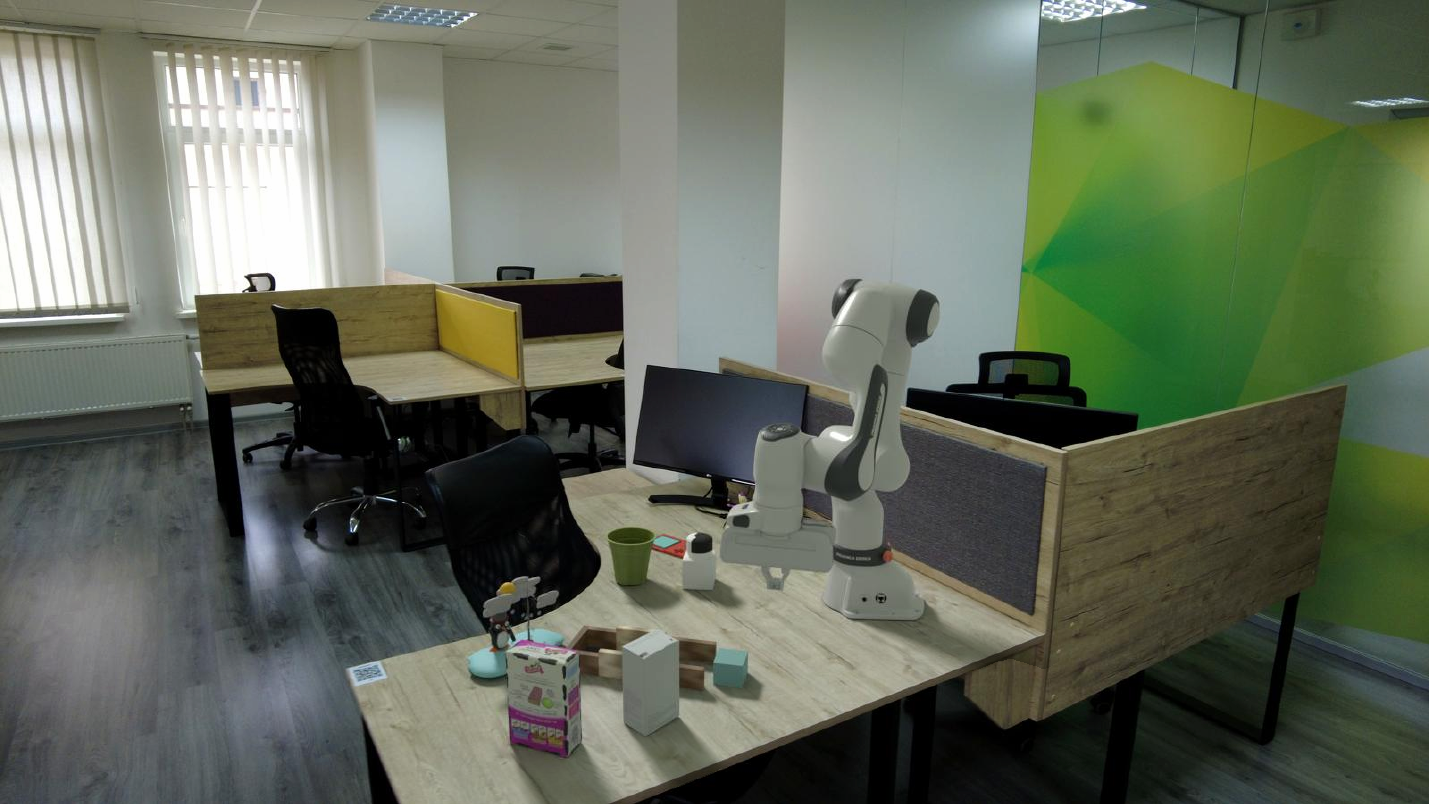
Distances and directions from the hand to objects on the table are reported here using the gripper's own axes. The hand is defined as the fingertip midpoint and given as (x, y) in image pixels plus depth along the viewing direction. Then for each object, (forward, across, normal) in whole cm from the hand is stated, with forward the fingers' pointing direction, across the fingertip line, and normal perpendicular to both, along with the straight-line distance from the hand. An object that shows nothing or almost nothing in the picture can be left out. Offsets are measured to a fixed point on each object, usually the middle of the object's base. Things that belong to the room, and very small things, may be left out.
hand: (775, 588), depth 153 cm
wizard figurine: (+19, +21, -74) cm, 79 cm away
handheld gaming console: (+19, +36, -59) cm, 72 cm away
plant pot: (+19, +40, -37) cm, 58 cm away
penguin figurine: (+19, +50, +3) cm, 54 cm away
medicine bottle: (+19, +24, -39) cm, 50 cm away
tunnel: (+19, +26, 0) cm, 32 cm away
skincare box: (+19, +18, +17) cm, 31 cm away
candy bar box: (+19, +33, +27) cm, 47 cm away
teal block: (+19, +8, 0) cm, 21 cm away
